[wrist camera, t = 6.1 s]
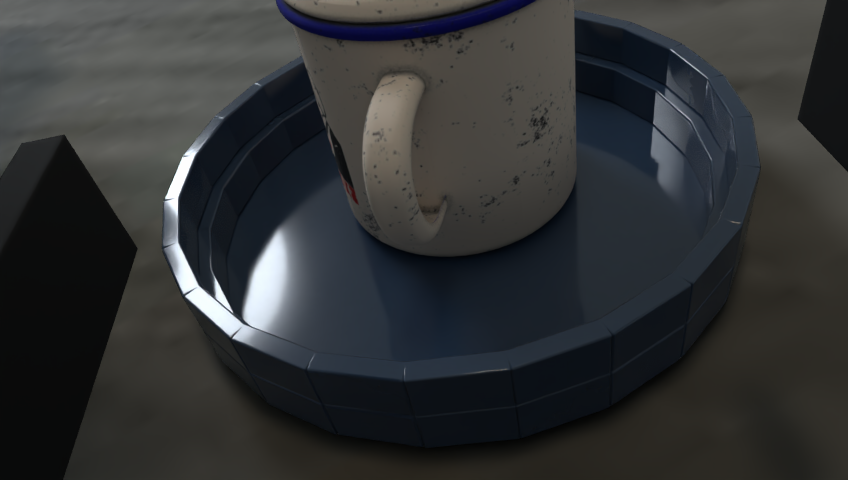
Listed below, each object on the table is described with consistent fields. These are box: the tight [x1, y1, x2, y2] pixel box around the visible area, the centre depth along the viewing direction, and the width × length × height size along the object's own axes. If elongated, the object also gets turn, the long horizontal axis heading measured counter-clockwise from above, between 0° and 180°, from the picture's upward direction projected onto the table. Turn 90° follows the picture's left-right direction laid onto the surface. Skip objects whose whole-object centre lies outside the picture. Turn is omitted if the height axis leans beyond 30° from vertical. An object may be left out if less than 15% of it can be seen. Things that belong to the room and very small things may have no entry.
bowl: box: [162, 10, 761, 448], centre depth 24 cm, size 19×19×3 cm
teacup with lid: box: [276, 0, 577, 257], centre depth 21 cm, size 12×9×12 cm
